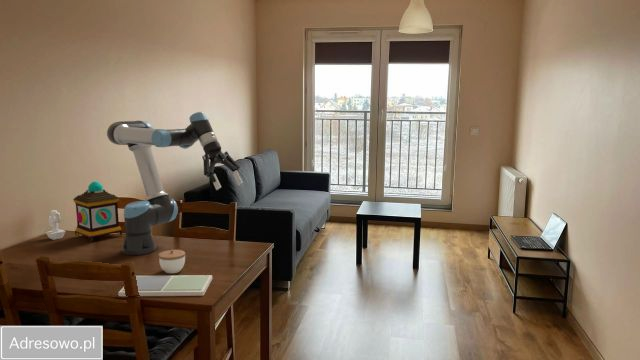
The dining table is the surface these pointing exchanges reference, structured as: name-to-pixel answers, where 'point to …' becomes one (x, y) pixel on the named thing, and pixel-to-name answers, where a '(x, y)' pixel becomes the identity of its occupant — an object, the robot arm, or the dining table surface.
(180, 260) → the lidded jar
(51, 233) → the figurine
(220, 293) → the dining table surface
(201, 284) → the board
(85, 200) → the decorative lantern
